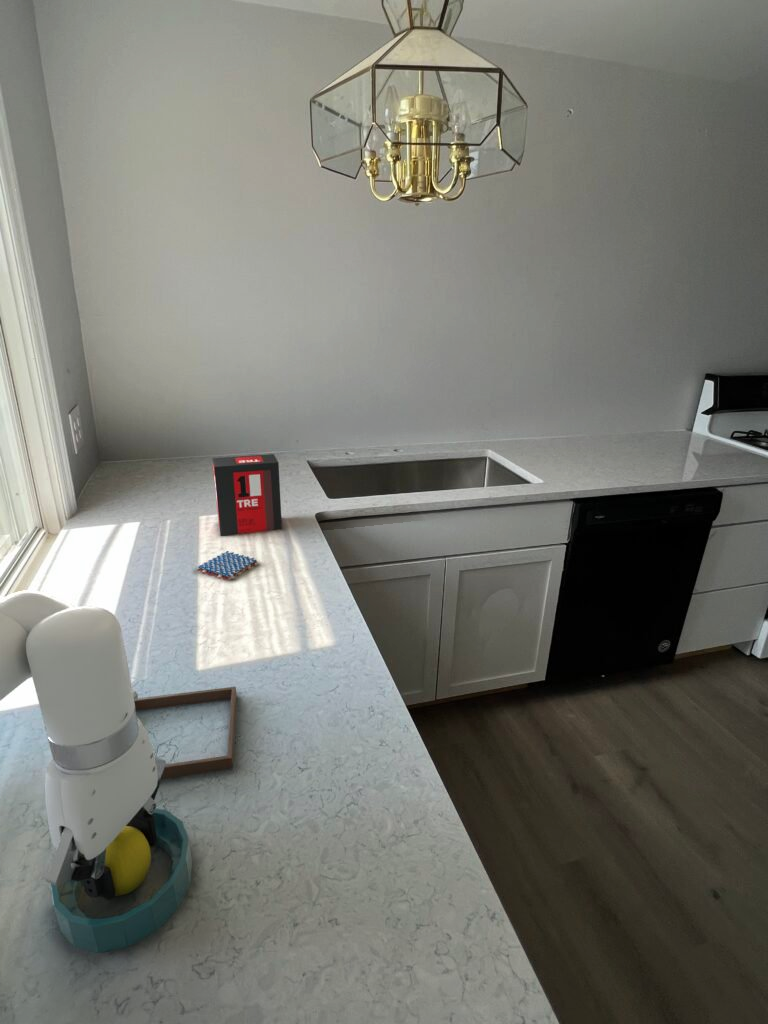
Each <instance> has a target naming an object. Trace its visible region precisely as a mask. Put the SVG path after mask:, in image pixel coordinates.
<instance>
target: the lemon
mask: <svg viewBox="0 0 768 1024" xmlns="http://www.w3.org/2000/svg"><path fill="white" fill-rule="evenodd" d="M151 859H152V852H151V846H149V843H148V841H147V839H146V838H145V836H144V835H143V833H142V832H141V831H140V830H138V829H137V828H134V827H131V826H125V827H124V829H123V830H122V831H121V832H120V833H119V834H118V835H117V837H116V838H115V839H114V840H113V841H112V842H111V843H110V844H109V846H108V847H107V848H106V856H105V865H104V866H107V867H109V868H110V870H111V874H112V878H113V883H114V887H115V896H124V895H127V894H129V893H131V892H134V890H136V889H138V887H139V886H140V885H141V884H142V883H143V881H144V880H145V878H146V877H147V875H148V873H149V870H150V867H151V862H152V861H151ZM115 896H114V897H115Z"/></svg>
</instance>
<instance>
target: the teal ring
mask: <svg viewBox="0 0 768 1024" xmlns="http://www.w3.org/2000/svg"><path fill="white" fill-rule="evenodd" d="M152 816H153V819H154V825H155V830H156V836H157V842H156V843H155V845H154V846H153V847H158V848H160V849H161V850H163V851H164V852H165V853H166V854H168V855H169V856H170V857H171V860H172V866H171V871H170V875H169V876H168V878H167V880H166V882H165V884H164V885H162V887H161V888H160V889H159V890H158V891H157V892H156V893H155V894H154V895H153V896H151V898H149V899H148V901H145V902H144V903H142V904H140V905H139V906H137V907H136V906H135V908H133V909H131V910H129V911H127V912H125V913H123V914H119V915H115V916H109V917H104V918H100V919H97V918H92V917H88V916H87V915H86V914H85V913H84V912H83V911H82V910H81V909H80V908H79V903H78V902H79V900H80V895H81V893H82V889H83V887H84V884H83V880H80V881H74V880H73V881H70V882H69V883H66V884H63V885H59V886H56V885H53V884H51V883H50V890H51V898H52V905H53V909H54V913H55V916H56V920H57V923H58V926H59V930H60V932H61V934H62V935H63V936H64V937H65V938H66V939H67V940H68V941H69V942H70V943H71V944H72V945H73V946H74V947H75V948H76V949H79V950H80V949H81V950H85V951H89V952H93V953H97V954H98V953H99V954H100V953H101V954H102V953H106V952H111V951H116V950H120V949H126V948H129V947H131V946H133V945H134V944H136V943H138V942H140V941H142V940H143V939H145V938H147V937H148V936H150V935H153V933H155V932H156V931H158V929H160V928H161V927H162V926H163V924H164V923H165V922H167V920H168V919H170V917H171V916H172V915H173V914H175V912H176V911H177V910H178V909H179V907H180V905H181V903H182V901H183V899H184V898H185V895H186V893H187V892H188V890H189V888H190V886H191V879H192V872H193V871H192V870H193V858H192V852H191V845H190V839H189V836H188V833H187V831H186V828H185V826H184V824H183V823H184V822H183V821H182V820H181V819H180V818H178V817H176V816H175V815H174V813H173V814H172V813H171V812H170V811H169V810H167V809H162V808H157V807H156V809H155V811H154V813H153V814H152ZM126 826H128V824H127V825H126ZM72 861H73V860H72Z"/></svg>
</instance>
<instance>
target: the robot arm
mask: <svg viewBox="0 0 768 1024" xmlns="http://www.w3.org/2000/svg"><path fill="white" fill-rule="evenodd" d="M126 653H127V652H126V647H125V641H124V637H123V630H122V627H121V623H120V620H119V619H118V618H117V616H116V615H115V614H114V613H112V612H111V611H110V610H108V609H105V608H103V607H99V606H98V607H97V606H75V605H72V604H70V603H68V602H65V601H64V600H61V599H59V598H57V597H54V596H52V595H50V594H47V593H44V592H43V591H39V590H31V589H29V590H28V589H27V590H25V589H24V590H19V591H16V592H13V593H11V594H7V595H6V596H4V597H2V598H1V599H0V701H2V700H3V699H4V698H7V696H8V695H10V694H11V693H12V692H13V691H15V690H16V689H17V688H18V687H19V686H21V685H22V684H23V683H24V682H26V681H27V680H28V679H31V678H32V681H33V686H34V689H35V693H36V697H37V701H38V705H39V708H40V713H41V717H42V721H43V725H44V729H45V732H46V737H47V741H48V744H49V749H50V753H51V757H52V760H51V761H50V762H49V763H48V764H47V766H46V767H45V776H44V798H45V810H46V817H47V824H48V829H49V835H50V838H51V842H52V845H53V847H54V848H55V851H54V854H53V858H52V860H51V862H50V864H49V867H48V871H47V873H46V875H45V882H46V883H49V884H50V885H51V884H53V885H56V886H59V885H63V884H66V883H69V882H70V881H73V880H74V881H80V880H83V888H84V892H85V894H86V895H87V896H89V897H90V898H92V899H96V900H97V899H99V898H101V899H104V900H107V901H112V900H113V899H114V897H115V887H114V883H113V878H112V874H111V870H110V868H109V867H107V866H104V865H105V856H106V848H107V847H108V846H109V844H110V843H111V842H112V841H113V840H114V839H115V838H116V837H117V835H118V834H119V833H120V832H121V831H122V830H123V829H124V827H125V826H126V825H127V824H128V826H131V827H134V828H137V829H138V830H140V831H141V832H142V833H143V835H144V836H145V838H146V839H147V841H148V843H149V847H155V846H154V845H155V843H156V842H157V836H156V830H155V825H154V819H153V816H152V814H153V813H154V811H155V809H156V808H157V802H156V801H155V799H156V797H157V794H158V790H159V788H160V784H161V782H160V780H161V779H160V778H161V775H162V773H163V770H164V768H165V765H166V764H167V761H166V760H165V759H163V758H159V757H155V754H154V750H153V747H152V744H151V741H150V740H151V739H150V738H149V735H148V732H147V731H146V728H145V726H144V725H143V723H142V721H141V719H140V718H138V715H137V711H136V709H135V703H134V701H135V700H137V698H139V694H138V693H137V691H136V690H134V689H133V687H132V681H131V676H130V670H129V665H128V659H127V654H126ZM72 860H73V861H72Z"/></svg>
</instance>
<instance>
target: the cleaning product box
mask: <svg viewBox="0 0 768 1024" xmlns="http://www.w3.org/2000/svg"><path fill="white" fill-rule="evenodd" d="M279 464H280V463H279V461H278V459H277V457H276V455H275V453H272V454H271V453H268V454H254V455H240V456H239V455H238V456H224V457H223V456H221V457H212V468H213V477H214V490H215V499H216V510H217V520H218V529H219V536H220V537H225V536H235V535H244V534H253V533H263V532H272V531H274V532H275V531H282V530H283V521H282V519H283V518H282V502H281V501H282V500H281V483H280V465H279Z"/></svg>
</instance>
